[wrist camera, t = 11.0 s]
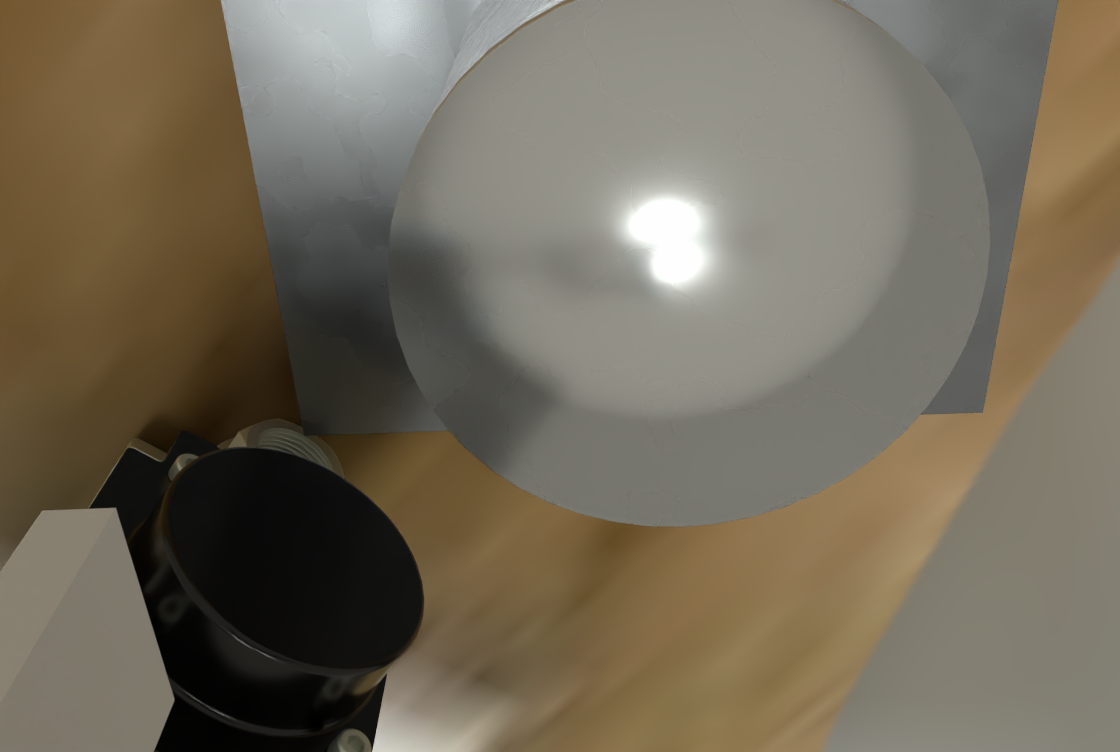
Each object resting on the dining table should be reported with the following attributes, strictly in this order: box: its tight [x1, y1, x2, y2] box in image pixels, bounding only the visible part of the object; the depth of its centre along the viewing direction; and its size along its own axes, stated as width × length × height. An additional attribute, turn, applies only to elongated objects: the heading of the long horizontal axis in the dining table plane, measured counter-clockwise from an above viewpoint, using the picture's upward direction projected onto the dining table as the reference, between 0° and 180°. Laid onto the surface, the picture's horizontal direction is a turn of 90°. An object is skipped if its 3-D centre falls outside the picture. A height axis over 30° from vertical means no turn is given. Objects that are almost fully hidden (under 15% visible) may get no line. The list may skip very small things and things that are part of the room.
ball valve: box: [88, 418, 424, 752], centre depth 30 cm, size 18×8×18 cm, turn 144°
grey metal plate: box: [221, 0, 1058, 436], centre depth 26 cm, size 22×22×10 cm
